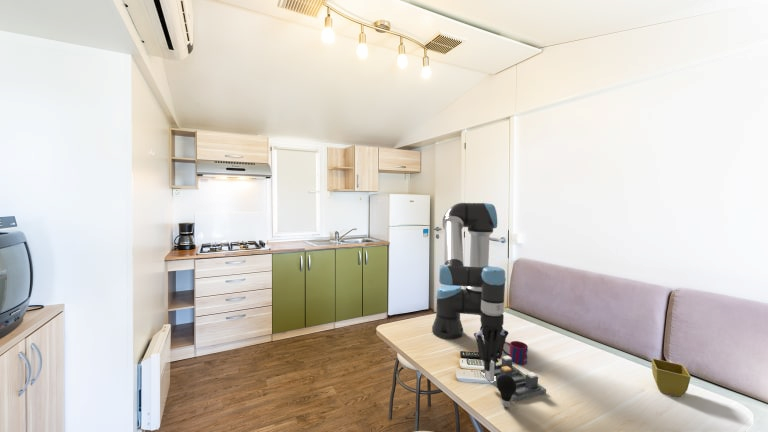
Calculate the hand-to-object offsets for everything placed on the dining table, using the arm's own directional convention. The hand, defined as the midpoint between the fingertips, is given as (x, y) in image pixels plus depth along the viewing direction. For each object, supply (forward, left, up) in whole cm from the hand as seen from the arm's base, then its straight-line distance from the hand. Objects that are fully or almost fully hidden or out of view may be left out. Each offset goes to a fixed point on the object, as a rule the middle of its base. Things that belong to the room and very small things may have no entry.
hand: (489, 378), depth 107 cm
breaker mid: (0, +7, -2) cm, 7 cm away
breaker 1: (-6, +13, -2) cm, 14 cm away
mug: (-13, +23, -4) cm, 27 cm away
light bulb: (+10, -2, -4) cm, 11 cm away
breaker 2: (+6, +13, -2) cm, 14 cm away
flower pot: (+21, +59, -4) cm, 63 cm away
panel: (0, +10, -3) cm, 10 cm away
